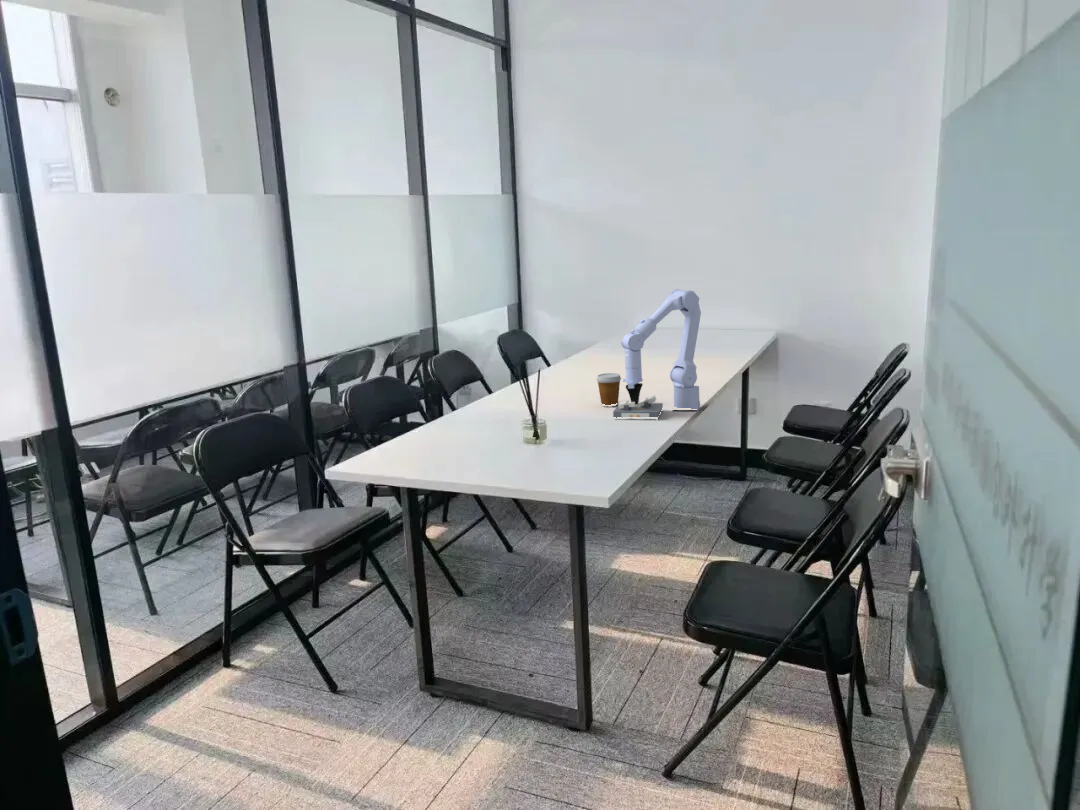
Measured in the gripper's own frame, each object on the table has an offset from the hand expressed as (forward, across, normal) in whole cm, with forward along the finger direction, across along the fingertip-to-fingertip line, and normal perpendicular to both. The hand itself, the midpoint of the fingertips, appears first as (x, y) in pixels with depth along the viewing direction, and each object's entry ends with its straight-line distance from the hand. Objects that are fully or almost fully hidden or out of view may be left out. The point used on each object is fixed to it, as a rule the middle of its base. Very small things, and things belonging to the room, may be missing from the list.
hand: (634, 404), depth 286 cm
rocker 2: (0, -5, +4) cm, 6 cm away
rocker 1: (0, 0, -3) cm, 3 cm away
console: (+5, -2, +1) cm, 5 cm away
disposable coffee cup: (+5, -18, -13) cm, 22 cm away
